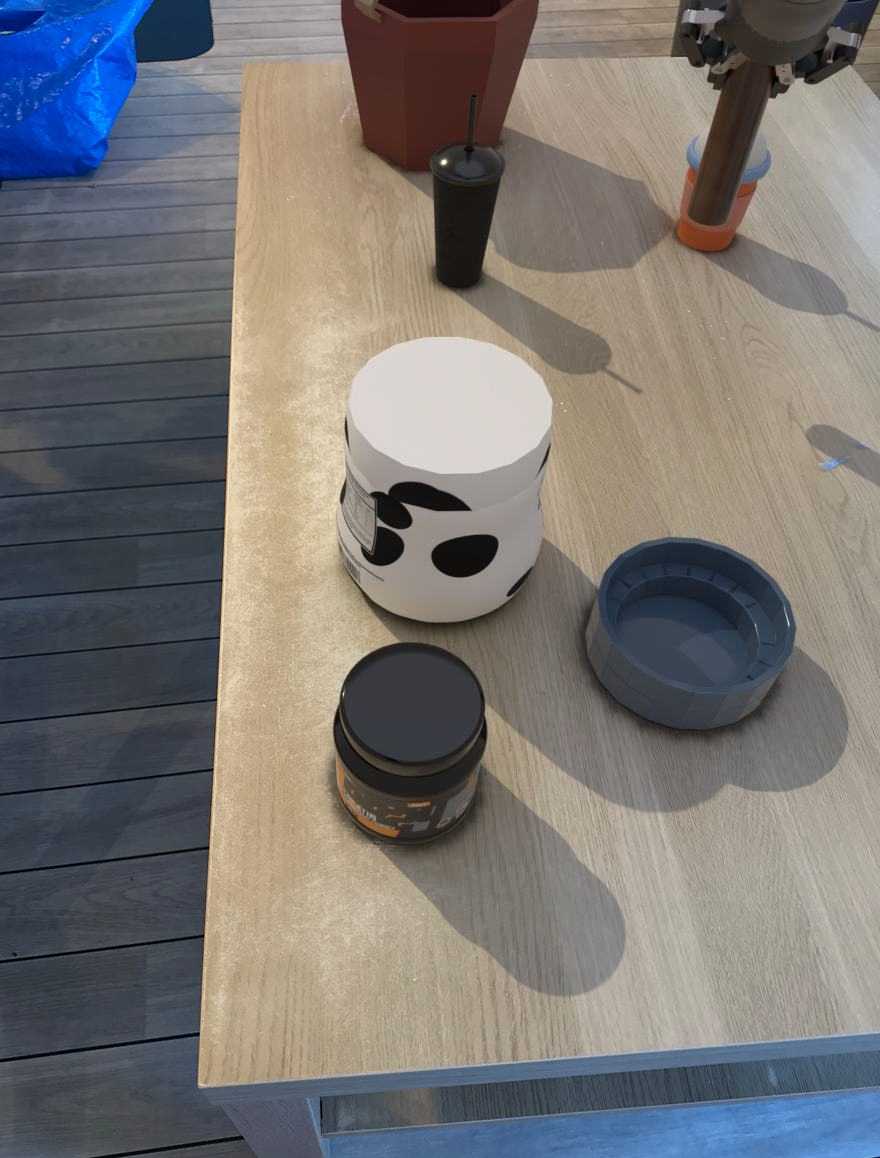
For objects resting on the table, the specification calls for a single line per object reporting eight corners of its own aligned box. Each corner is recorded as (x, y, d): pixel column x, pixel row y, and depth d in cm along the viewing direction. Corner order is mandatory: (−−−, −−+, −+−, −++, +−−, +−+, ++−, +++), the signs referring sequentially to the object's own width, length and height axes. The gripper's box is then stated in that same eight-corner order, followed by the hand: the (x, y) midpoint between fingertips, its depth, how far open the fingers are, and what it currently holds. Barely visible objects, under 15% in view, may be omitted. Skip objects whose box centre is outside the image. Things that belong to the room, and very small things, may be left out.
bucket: (464, 84, 137) (482, -137, 117) (561, 159, 126) (599, -69, 106) (308, 127, 129) (298, -102, 108) (397, 211, 118) (405, -25, 98)
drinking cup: (440, 252, 114) (453, 69, 97) (502, 271, 112) (525, 88, 96) (411, 288, 110) (420, 103, 93) (475, 308, 108) (495, 123, 92)
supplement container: (307, 771, 74) (299, 685, 65) (417, 700, 78) (425, 609, 69) (392, 878, 70) (398, 802, 60) (505, 797, 74) (527, 713, 64)
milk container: (560, 525, 90) (599, 365, 75) (492, 669, 80) (521, 518, 66) (386, 466, 93) (391, 302, 79) (302, 597, 84) (289, 439, 69)
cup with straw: (695, 209, 120) (742, 52, 106) (757, 243, 117) (814, 84, 102) (648, 237, 117) (689, 78, 102) (710, 272, 113) (762, 112, 98)
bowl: (751, 586, 86) (775, 541, 81) (785, 738, 77) (814, 698, 73) (577, 579, 86) (590, 533, 81) (591, 730, 77) (607, 689, 72)
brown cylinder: (723, 202, 94) (777, 31, 82) (734, 226, 92) (792, 54, 79) (682, 202, 94) (730, 31, 82) (692, 226, 91) (743, 54, 79)
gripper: (916, -65, 67) (842, 48, 83) (703, -93, 68) (673, 23, 85) (884, 54, 68) (818, 141, 85) (677, 24, 70) (652, 115, 86)
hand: (745, 81), depth 85 cm, fingers closed on brown cylinder, 4 cm apart
